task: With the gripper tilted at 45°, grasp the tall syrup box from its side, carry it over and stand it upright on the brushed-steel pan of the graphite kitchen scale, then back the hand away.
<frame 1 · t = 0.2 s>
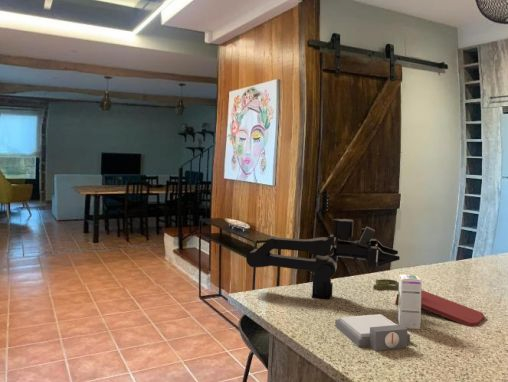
hand: (398, 255, 143), 17 cm above the table, tool horizontal, fingers open, 9 cm apart
cookie cutter: (396, 290, 161), on the table
syrup box: (408, 325, 125), on the table
red wedge doorstop: (438, 313, 138), on the table
kitchen scale: (370, 333, 118), on the table
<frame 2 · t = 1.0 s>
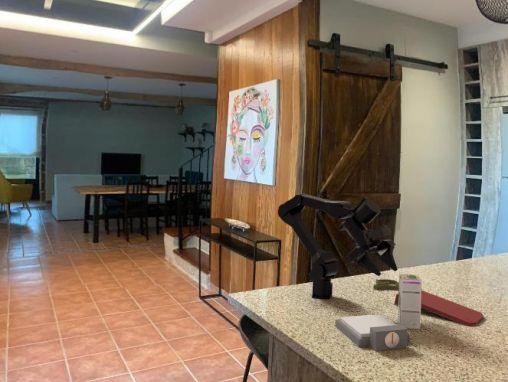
hand: (388, 272, 131), 14 cm above the table, tool tilted 45°, fingers open, 9 cm apart
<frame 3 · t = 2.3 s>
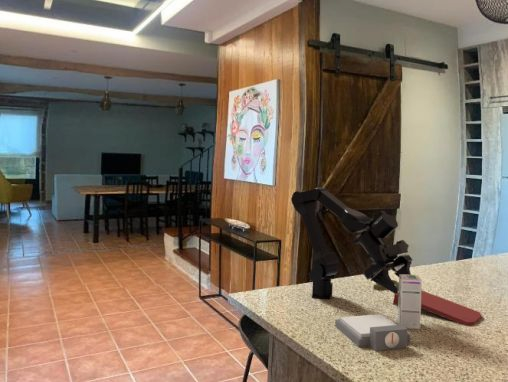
hand: (405, 290, 126), 10 cm above the table, tool tilted 45°, fingers open, 9 cm apart
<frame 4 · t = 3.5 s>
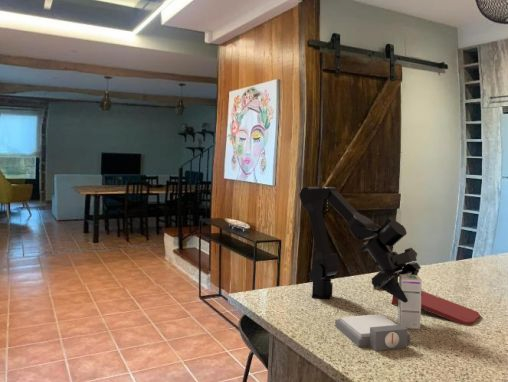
hand: (414, 299, 124), 8 cm above the table, tool tilted 45°, fingers closed on syrup box, 8 cm apart
syrup box: (408, 325, 125), on the table, touching gripper
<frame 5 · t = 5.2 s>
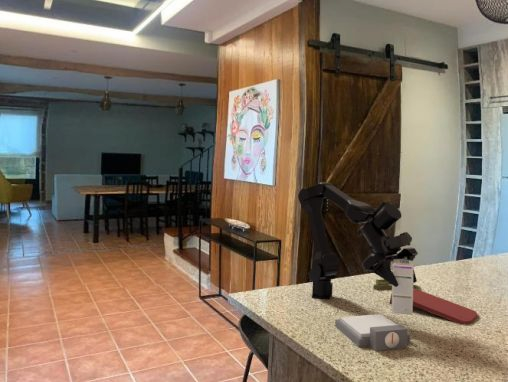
hand: (406, 284, 121), 13 cm above the table, tool tilted 45°, fingers closed on syrup box, 8 cm apart
syrup box: (401, 311, 123), point 5 cm above the table, touching gripper
when the fingers open (12 cm above the table, at t = 6.9 s): syrup box stays where it is, resting on kitchen scale.
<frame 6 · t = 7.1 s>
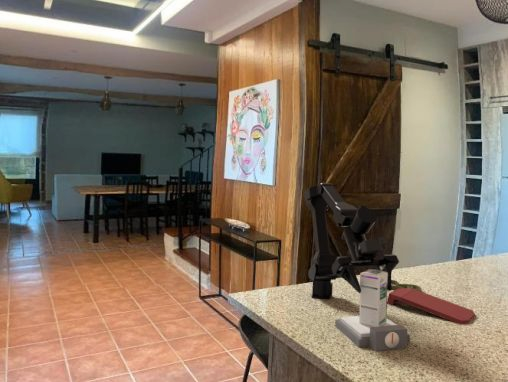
hand: (375, 291, 116), 13 cm above the table, tool tilted 45°, fingers open, 9 cm apart
syrup box: (372, 323, 118), point 3 cm above the table, touching kitchen scale
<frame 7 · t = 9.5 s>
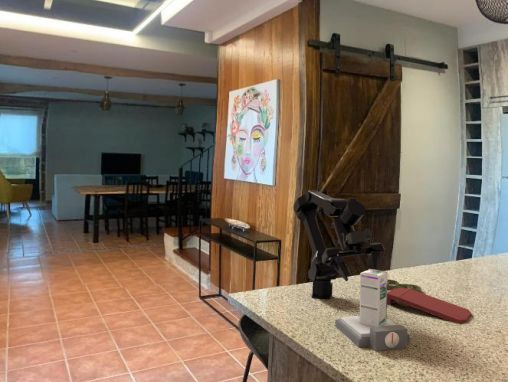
hand: (361, 278, 126), 13 cm above the table, tool tilted 40°, fingers open, 9 cm apart
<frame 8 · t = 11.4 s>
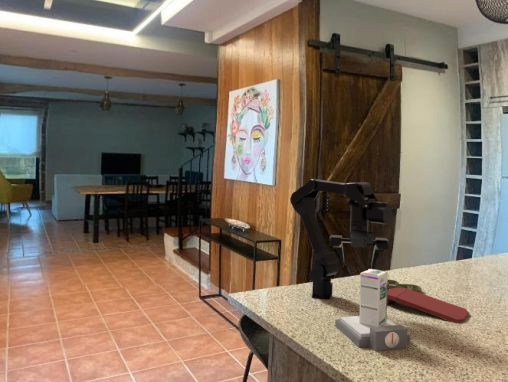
hand: (357, 268, 140), 13 cm above the table, tool pointing down, fingers open, 9 cm apart
at the end: syrup box inside the target area on the kitchen scale (0.6 cm from its centre), point 2.8 cm above the kitchen scale's base; syrup box tilted 0°; the gripper is holding nothing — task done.
